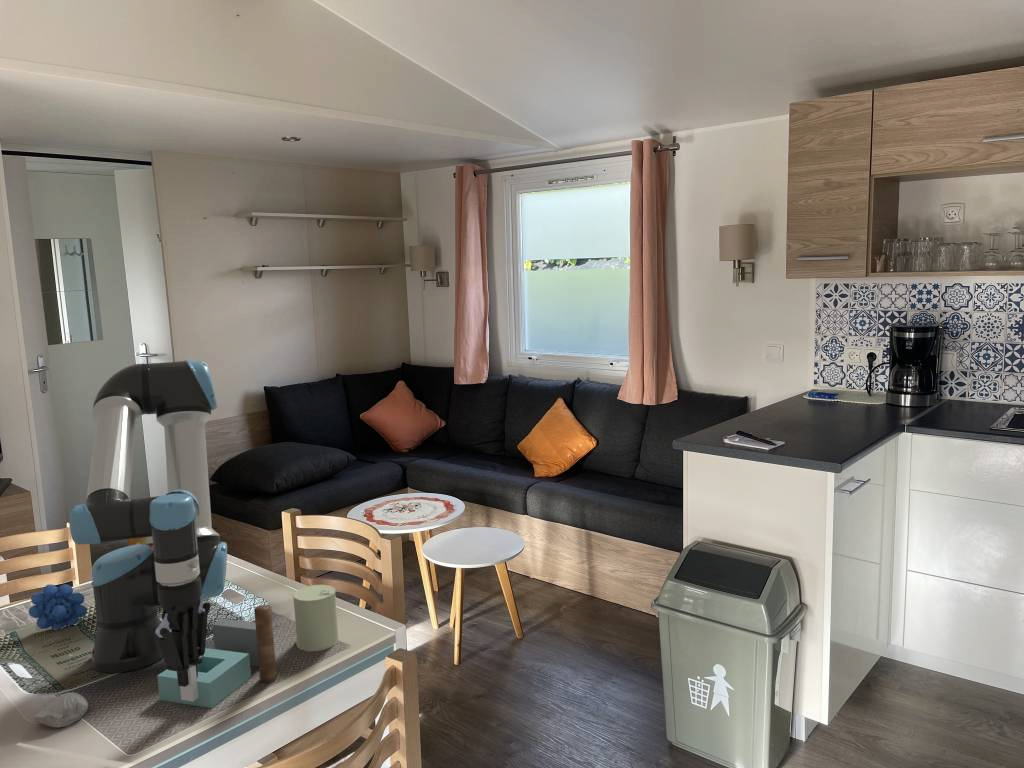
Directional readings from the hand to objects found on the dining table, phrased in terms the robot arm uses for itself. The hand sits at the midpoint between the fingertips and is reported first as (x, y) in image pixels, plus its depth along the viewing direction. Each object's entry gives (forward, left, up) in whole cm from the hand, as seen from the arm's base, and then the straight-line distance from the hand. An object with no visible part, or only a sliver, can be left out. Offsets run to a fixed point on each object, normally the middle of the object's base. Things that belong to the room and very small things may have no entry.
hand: (189, 698), depth 147 cm
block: (-2, +7, -2) cm, 7 cm away
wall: (-2, +19, -2) cm, 19 cm away
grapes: (-53, +20, -2) cm, 56 cm away
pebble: (-21, -9, -2) cm, 23 cm away
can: (+9, +30, -2) cm, 31 cm away
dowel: (+8, +13, -2) cm, 15 cm away
